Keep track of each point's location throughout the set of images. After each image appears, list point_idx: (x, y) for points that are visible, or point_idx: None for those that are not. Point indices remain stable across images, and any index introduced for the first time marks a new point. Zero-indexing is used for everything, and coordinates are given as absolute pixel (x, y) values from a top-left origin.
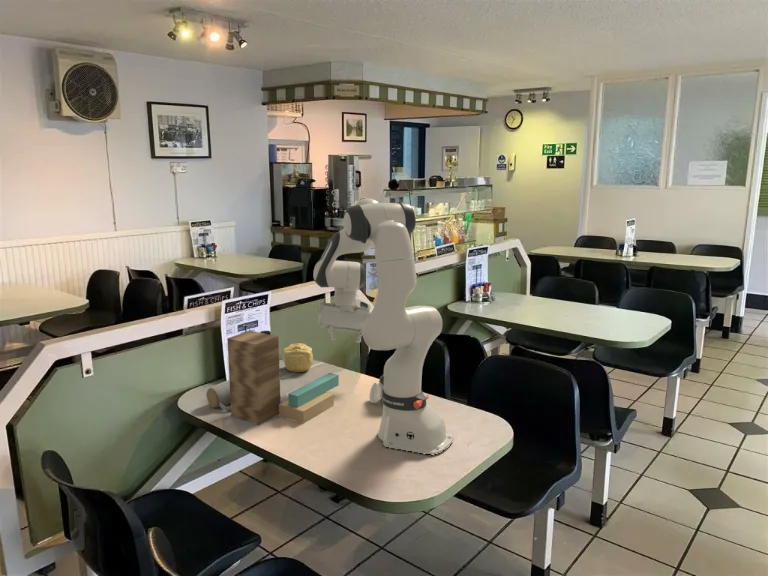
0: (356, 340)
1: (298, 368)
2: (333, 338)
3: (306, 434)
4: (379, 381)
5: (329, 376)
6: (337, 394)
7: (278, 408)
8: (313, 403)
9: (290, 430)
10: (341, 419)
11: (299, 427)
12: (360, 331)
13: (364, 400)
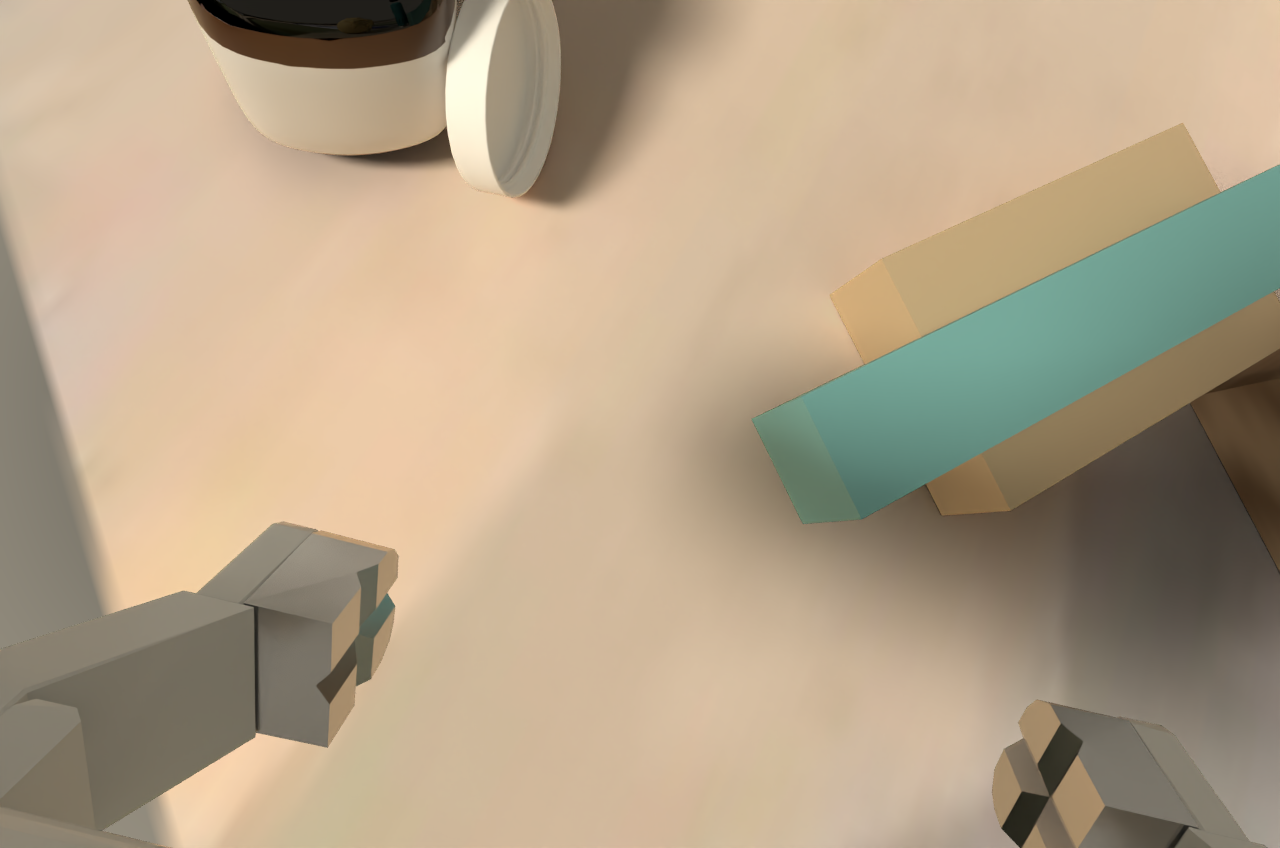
0: (370, 631)
1: None
2: (1109, 718)
3: (1131, 36)
4: (449, 19)
5: (909, 409)
6: (701, 483)
7: (1247, 378)
8: (1085, 195)
9: (1193, 137)
10: (878, 64)
11: (1140, 137)
12: (54, 742)
13: (562, 231)
